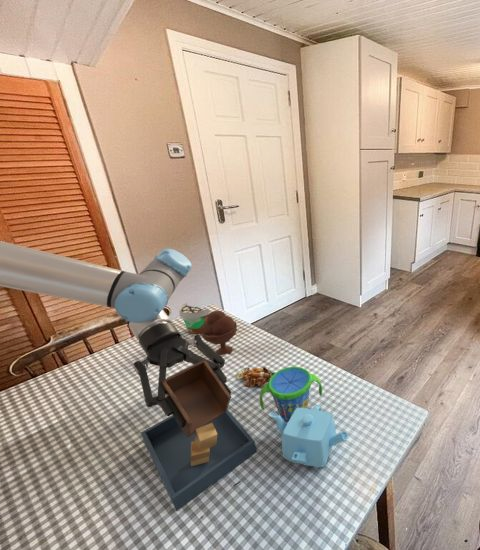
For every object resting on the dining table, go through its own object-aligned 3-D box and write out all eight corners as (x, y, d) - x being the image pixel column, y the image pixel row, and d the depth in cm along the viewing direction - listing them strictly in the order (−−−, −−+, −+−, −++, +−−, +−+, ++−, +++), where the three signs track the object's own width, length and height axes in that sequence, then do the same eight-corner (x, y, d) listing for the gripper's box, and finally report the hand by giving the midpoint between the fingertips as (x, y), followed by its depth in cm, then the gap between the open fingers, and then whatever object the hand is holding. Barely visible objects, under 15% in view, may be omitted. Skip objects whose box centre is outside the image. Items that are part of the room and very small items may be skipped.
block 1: (199, 452, 64) (194, 440, 66) (216, 444, 66) (211, 433, 68) (200, 441, 63) (195, 429, 65) (217, 433, 65) (212, 422, 67)
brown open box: (161, 397, 67) (161, 381, 62) (202, 375, 74) (204, 358, 69) (187, 437, 64) (188, 424, 59) (226, 411, 71) (231, 396, 66)
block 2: (191, 455, 63) (190, 466, 64) (209, 451, 65) (208, 462, 66) (191, 441, 66) (190, 452, 67) (208, 437, 67) (207, 448, 69)
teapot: (355, 434, 73) (354, 402, 69) (337, 494, 60) (335, 459, 56) (286, 421, 76) (282, 390, 73) (256, 475, 64) (249, 441, 60)
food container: (176, 333, 114) (170, 310, 110) (191, 325, 119) (185, 302, 116) (200, 340, 110) (194, 316, 106) (214, 331, 115) (209, 308, 111)
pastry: (242, 368, 95) (240, 359, 94) (277, 373, 93) (276, 364, 92) (228, 384, 89) (226, 374, 88) (266, 390, 87) (264, 380, 85)
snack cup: (321, 391, 86) (319, 361, 82) (325, 420, 77) (323, 389, 73) (264, 400, 83) (259, 370, 79) (261, 432, 73) (255, 400, 70)
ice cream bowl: (199, 360, 99) (189, 320, 94) (220, 341, 109) (212, 304, 104) (229, 363, 98) (220, 323, 92) (247, 343, 108) (240, 306, 102)
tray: (144, 443, 71) (140, 432, 70) (216, 403, 82) (213, 392, 81) (176, 511, 57) (171, 499, 56) (256, 452, 69) (254, 440, 67)
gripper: (201, 322, 81) (250, 387, 75) (100, 364, 65) (150, 452, 59) (204, 304, 76) (255, 373, 70) (94, 346, 60) (149, 439, 54)
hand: (207, 409), depth 64 cm, fingers closed on brown open box, 9 cm apart
